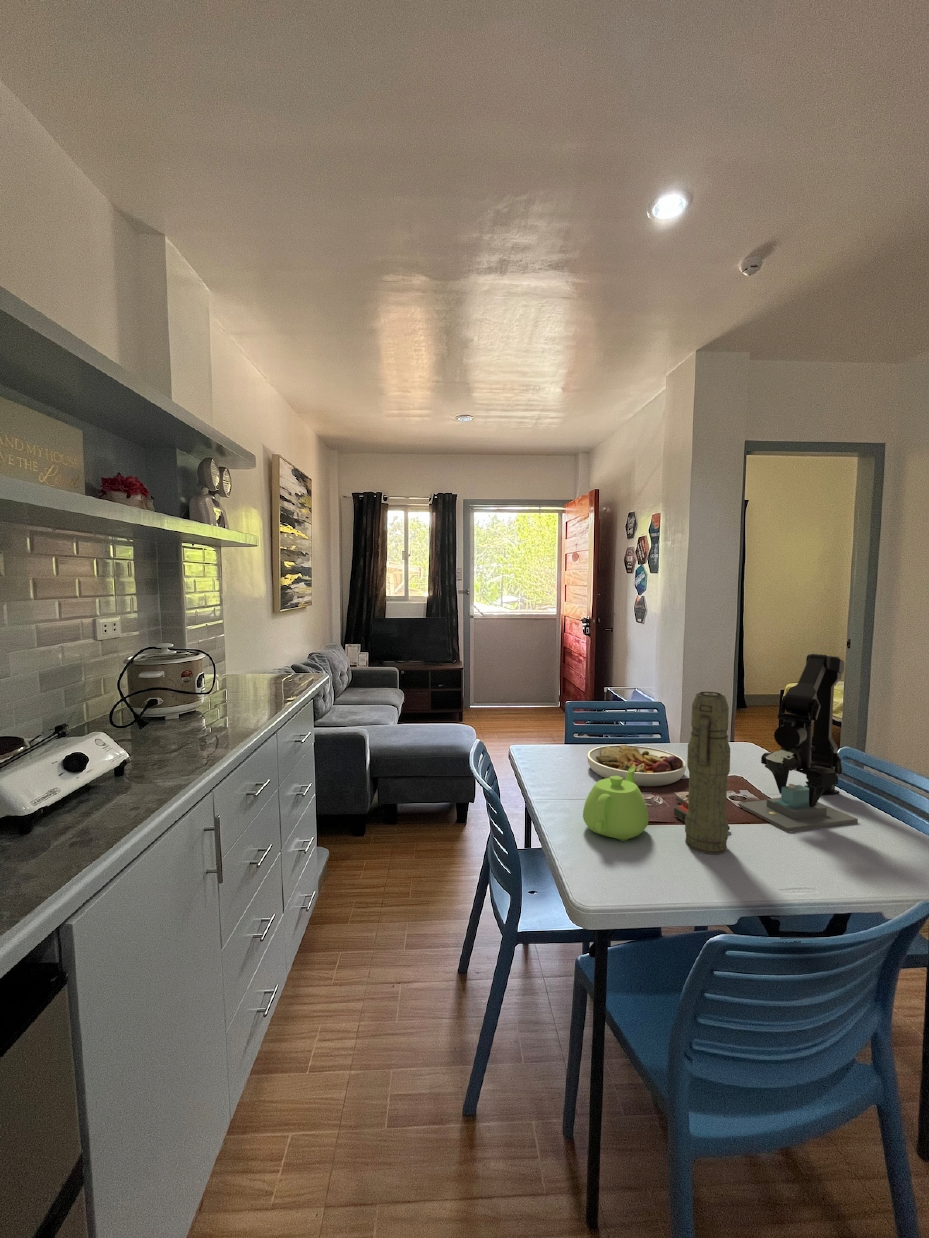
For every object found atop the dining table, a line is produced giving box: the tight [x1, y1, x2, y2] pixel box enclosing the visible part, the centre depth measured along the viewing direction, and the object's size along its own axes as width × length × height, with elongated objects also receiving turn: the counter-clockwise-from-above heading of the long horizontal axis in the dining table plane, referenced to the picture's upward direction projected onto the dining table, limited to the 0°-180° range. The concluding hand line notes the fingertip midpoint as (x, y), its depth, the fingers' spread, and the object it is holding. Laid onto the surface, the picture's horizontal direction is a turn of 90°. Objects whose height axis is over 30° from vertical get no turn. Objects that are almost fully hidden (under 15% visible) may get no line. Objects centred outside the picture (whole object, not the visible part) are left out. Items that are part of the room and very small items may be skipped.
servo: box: [775, 783, 817, 809], centre depth 143 cm, size 10×4×7 cm, turn 106°
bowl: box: [586, 744, 687, 787], centre depth 176 cm, size 30×30×8 cm
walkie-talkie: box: [673, 796, 731, 831], centre depth 141 cm, size 9×4×20 cm
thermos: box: [684, 691, 731, 855], centre depth 124 cm, size 9×12×35 cm
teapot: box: [582, 767, 650, 842], centre depth 133 cm, size 22×15×13 cm
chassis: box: [737, 797, 859, 833], centre depth 143 cm, size 22×16×3 cm
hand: (796, 800), depth 143 cm, fingers open, 9 cm apart
